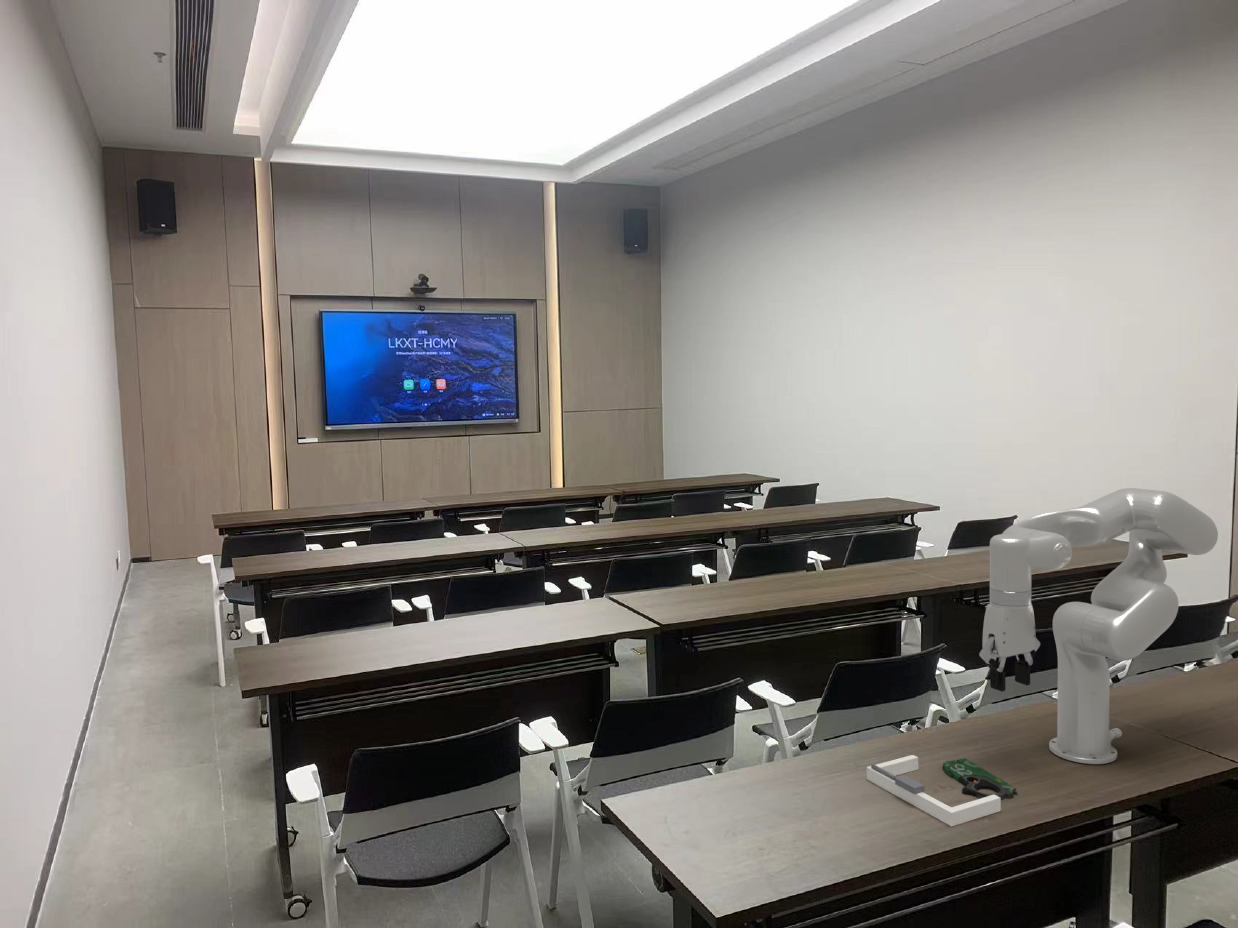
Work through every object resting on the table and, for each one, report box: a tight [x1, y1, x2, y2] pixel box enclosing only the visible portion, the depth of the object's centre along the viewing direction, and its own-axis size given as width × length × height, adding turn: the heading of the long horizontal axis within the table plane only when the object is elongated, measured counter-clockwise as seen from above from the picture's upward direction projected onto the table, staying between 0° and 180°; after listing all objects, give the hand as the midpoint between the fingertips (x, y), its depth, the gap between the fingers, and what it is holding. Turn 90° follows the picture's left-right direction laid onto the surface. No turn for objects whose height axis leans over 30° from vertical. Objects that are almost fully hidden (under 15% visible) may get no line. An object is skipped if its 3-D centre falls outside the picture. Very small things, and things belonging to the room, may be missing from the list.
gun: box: [942, 758, 1018, 801], centre depth 174 cm, size 16×1×10 cm
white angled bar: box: [866, 754, 1002, 827], centre depth 169 cm, size 12×22×4 cm, turn 25°
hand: (1010, 685), depth 177 cm, fingers open, 6 cm apart
